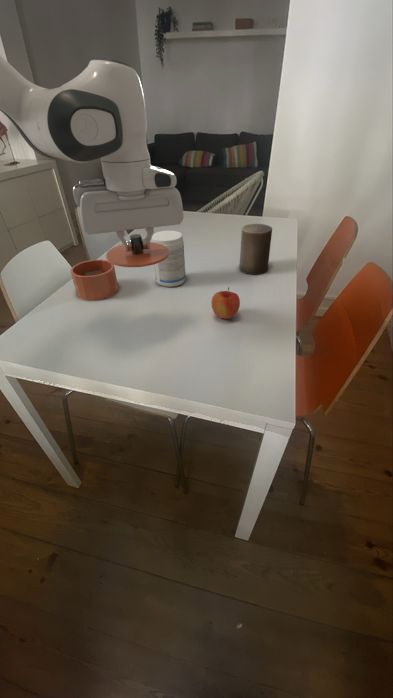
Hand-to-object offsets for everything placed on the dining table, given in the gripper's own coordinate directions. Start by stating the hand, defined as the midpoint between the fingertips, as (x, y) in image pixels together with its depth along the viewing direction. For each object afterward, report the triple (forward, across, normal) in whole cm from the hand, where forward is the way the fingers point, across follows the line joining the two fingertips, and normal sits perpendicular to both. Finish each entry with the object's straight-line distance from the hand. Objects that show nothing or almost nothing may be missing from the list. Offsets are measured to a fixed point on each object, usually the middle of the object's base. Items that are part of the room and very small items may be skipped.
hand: (137, 249), depth 68 cm
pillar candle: (+21, +42, +24) cm, 53 cm away
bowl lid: (+1, 0, 0) cm, 1 cm away
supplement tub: (+21, +12, +25) cm, 35 cm away
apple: (+21, +21, -1) cm, 29 cm away
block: (+20, -10, +27) cm, 35 cm away
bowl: (+21, -10, +27) cm, 35 cm away
